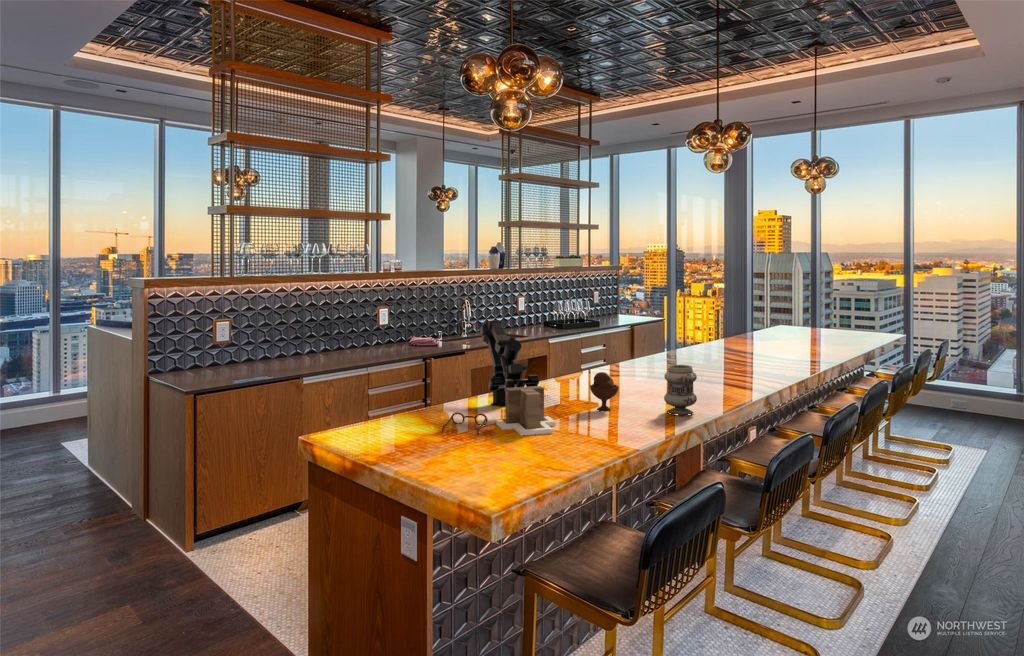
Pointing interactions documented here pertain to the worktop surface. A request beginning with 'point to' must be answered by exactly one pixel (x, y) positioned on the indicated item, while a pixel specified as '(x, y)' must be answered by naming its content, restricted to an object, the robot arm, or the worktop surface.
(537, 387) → the t block
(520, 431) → the t outline
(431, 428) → the worktop surface
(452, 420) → the glasses
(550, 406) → the worktop surface
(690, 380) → the apothecary jar
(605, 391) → the ice cream bowl
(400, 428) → the worktop surface
